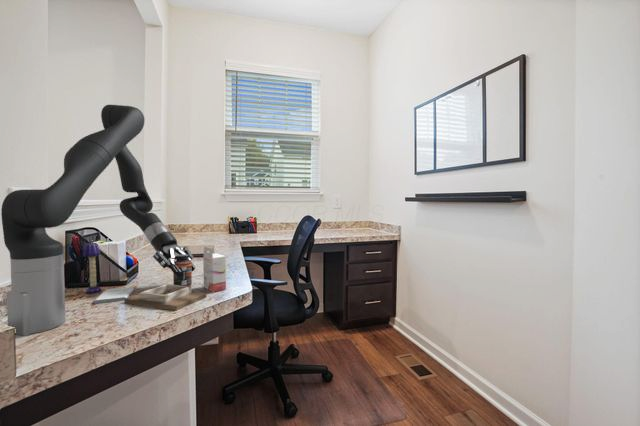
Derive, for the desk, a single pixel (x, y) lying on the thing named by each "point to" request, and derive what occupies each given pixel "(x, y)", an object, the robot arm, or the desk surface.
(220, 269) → the ink cartridge box
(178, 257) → the supplement bottle
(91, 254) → the toy lamp
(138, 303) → the rail board
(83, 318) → the desk surface
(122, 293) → the external hard drive
